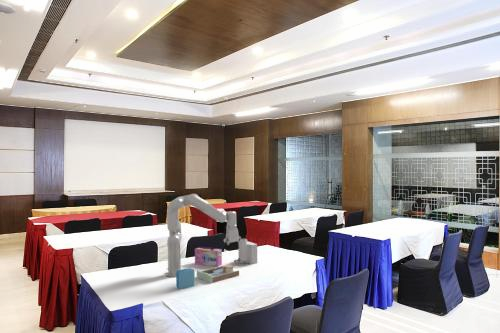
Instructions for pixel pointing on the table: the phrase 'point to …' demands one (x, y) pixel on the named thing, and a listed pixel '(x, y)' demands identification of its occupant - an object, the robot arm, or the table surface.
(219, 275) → the box
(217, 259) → the gum box
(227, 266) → the maple block
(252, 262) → the control panel
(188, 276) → the data package
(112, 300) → the table surface
